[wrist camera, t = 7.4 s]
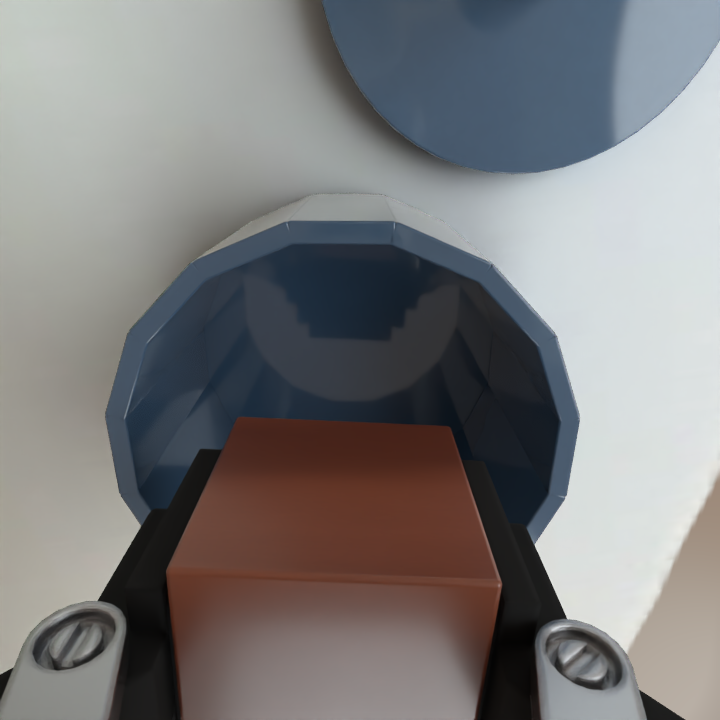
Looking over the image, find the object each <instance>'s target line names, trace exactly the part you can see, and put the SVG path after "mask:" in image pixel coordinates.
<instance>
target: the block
mask: <svg viewBox="0 0 720 720" xmlns="http://www.w3.org/2000/svg"><path fill="white" fill-rule="evenodd" d="M166 577H167V587H168V597H169V607H170V617H171V627H172V637H173V648H174V658H175V668H176V678H177V688H178V698H179V708H180V718H181V720H477V719H478V713H479V708H480V702H481V697H482V692H483V686H484V681H485V675H486V670H487V665H488V659H489V654H490V648H491V643H492V637H493V632H494V627H495V621H496V616H497V610H498V605H499V600H500V594H501V589H502V582H501V579H500V576H499V573H498V570H497V567H496V564H495V561H494V558H493V555H492V552H491V549H490V546H489V543H488V540H487V537H486V534H485V531H484V528H483V525H482V521H481V518H480V515H479V512H478V509H477V506H476V503H475V500H474V497H473V494H472V491H471V488H470V485H469V482H468V479H467V476H466V473H465V470H464V467H463V464H462V461H461V458H460V455H459V452H458V449H457V446H456V443H455V440H454V437H453V434H452V431H451V428H450V427H448V426H436V425H414V424H391V423H369V422H347V421H325V420H302V419H280V418H258V417H238V418H237V419H236V421H235V423H234V426H233V428H232V430H231V432H230V434H229V436H228V439H227V441H226V443H225V445H224V447H223V449H222V451H221V454H220V456H219V458H218V460H217V462H216V464H215V466H214V469H213V471H212V473H211V475H210V477H209V479H208V481H207V484H206V486H205V488H204V490H203V492H202V494H201V497H200V499H199V501H198V503H197V505H196V507H195V509H194V512H193V514H192V516H191V518H190V520H189V522H188V524H187V527H186V529H185V531H184V533H183V535H182V537H181V539H180V542H179V544H178V546H177V548H176V550H175V552H174V555H173V557H172V559H171V561H170V563H169V565H168V567H167V570H166Z"/></svg>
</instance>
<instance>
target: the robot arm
mask: <svg viewBox="0 0 720 720" xmlns="http://www.w3.org/2000/svg"><path fill="white" fill-rule="evenodd" d="M221 451H222V449H200V450H199V451H198V453H197V455H196V457H195V459H194V460H193V462H192V464H191V466H190V468H189V470H188V471H187V473H186V475H185V477H184V479H183V481H182V483H181V484H180V486H179V488H178V490H177V492H176V494H175V495H174V497H173V499H172V501H171V503H170V505H169V506H168V508H167V509H161V508H155V509H153V510H151V512H150V513H149V514H148V516H147V518H146V519H145V521H144V523H143V524H142V526H141V528H140V530H139V531H138V533H137V535H136V536H135V538H134V540H133V541H132V543H131V545H130V547H129V548H128V550H127V552H126V553H125V555H124V557H123V559H122V560H121V562H120V564H119V565H118V567H117V569H116V570H115V572H114V574H113V576H112V577H111V579H110V581H109V582H108V584H107V586H106V587H105V589H104V591H103V593H102V594H101V596H100V598H99V599H98V601H86V602H81V603H77V604H73V605H70V606H67V607H65V608H63V609H61V610H58V611H56V612H54V613H53V614H51V615H50V616H48V617H47V618H45V619H44V620H42V621H41V622H40V623H39V624H38V625H37V626H36V627H35V628H34V629H33V630H32V631H31V632H30V634H29V636H28V637H27V639H26V641H25V642H24V644H23V646H22V648H21V651H20V653H19V656H18V658H17V661H16V663H15V666H14V668H12V669H10V670H8V671H6V672H4V673H3V674H1V675H0V720H181V718H180V708H179V698H178V688H177V678H176V668H175V658H174V648H173V637H172V627H171V617H170V607H169V597H168V587H167V577H166V570H167V567H168V565H169V563H170V561H171V559H172V557H173V555H174V552H175V550H176V548H177V546H178V544H179V542H180V539H181V537H182V535H183V533H184V531H185V529H186V527H187V524H188V522H189V520H190V518H191V516H192V514H193V512H194V509H195V507H196V505H197V503H198V501H199V499H200V497H201V494H202V492H203V490H204V488H205V486H206V484H207V481H208V479H209V477H210V475H211V473H212V471H213V469H214V466H215V464H216V462H217V460H218V458H219V456H220V454H221ZM461 461H462V464H463V467H464V470H465V473H466V476H467V479H468V482H469V485H470V488H471V491H472V494H473V497H474V500H475V503H476V506H477V509H478V512H479V515H480V518H481V521H482V525H483V528H484V531H485V534H486V537H487V540H488V543H489V546H490V549H491V552H492V555H493V558H494V561H495V564H496V567H497V570H498V573H499V576H500V579H501V582H502V589H501V594H500V600H499V605H498V610H497V616H496V621H495V627H494V632H493V637H492V643H491V648H490V654H489V659H488V665H487V670H486V675H485V681H484V686H483V692H482V697H481V702H480V708H479V713H478V719H477V720H685V719H683V718H682V717H680V716H679V715H677V714H675V713H674V712H672V711H671V710H669V709H668V708H666V707H665V706H663V705H662V704H660V703H659V702H657V701H656V700H654V699H652V698H651V697H650V696H648V695H647V694H645V693H643V692H641V691H640V690H639V689H638V684H637V681H636V677H635V673H634V670H633V667H632V664H631V662H630V660H629V658H628V656H627V654H626V653H625V652H624V650H623V649H622V648H621V647H620V645H619V644H618V643H617V642H616V641H615V640H613V639H612V638H611V637H610V636H609V635H607V634H606V633H605V632H603V631H601V630H599V629H598V628H596V627H594V626H592V625H590V624H587V623H583V622H580V621H577V620H568V619H567V618H566V615H565V613H564V611H563V609H562V606H561V604H560V602H559V599H558V597H557V595H556V593H555V590H554V588H553V586H552V584H551V581H550V579H549V577H548V575H547V572H546V570H545V568H544V566H543V563H542V561H541V559H540V557H539V554H538V552H537V550H536V548H535V545H534V543H533V541H532V539H531V536H530V534H529V532H528V530H527V528H526V527H525V525H523V524H519V523H509V522H508V519H507V517H506V514H505V512H504V509H503V507H502V504H501V502H500V499H499V497H498V494H497V492H496V489H495V487H494V484H493V482H492V480H491V477H490V475H489V472H488V470H487V467H486V465H485V463H484V461H474V460H461Z"/></svg>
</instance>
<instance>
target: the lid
mask: <svg viewBox="0 0 720 720" xmlns="http://www.w3.org/2000/svg"><path fill="white" fill-rule="evenodd" d="M322 5H323V9H324V12H325V15H326V18H327V22H328V25H329V28H330V32H331V35H332V38H333V40H334V43H335V45H336V47H337V49H338V52H339V54H340V56H341V58H342V61H343V63H344V65H345V67H346V69H347V70H348V72H349V74H350V75H351V77H352V79H353V80H354V82H355V84H356V86H357V87H358V89H359V90H360V92H361V93H362V94H363V96H364V97H365V98H366V99H367V101H368V102H369V103H370V105H371V106H372V107H373V108H374V110H375V111H376V112H377V113H378V114H379V115H380V116H381V117H382V118H383V119H384V120H385V121H386V122H387V123H388V124H389V125H390V126H391V127H392V128H393V129H394V130H395V131H397V132H398V133H399V134H401V135H402V136H403V137H405V138H406V139H407V140H409V141H410V142H411V143H413V144H414V145H415V146H417V147H419V148H421V149H422V150H424V151H426V152H428V153H430V154H432V155H433V156H435V157H437V158H439V159H442V160H445V161H447V162H450V163H453V164H455V165H458V166H461V167H465V168H470V169H474V170H479V171H483V172H490V173H503V174H523V173H538V172H543V171H548V170H553V169H558V168H563V167H566V166H569V165H572V164H575V163H578V162H581V161H584V160H587V159H590V158H592V157H594V156H596V155H598V154H600V153H602V152H604V151H606V150H608V149H610V148H612V147H614V146H616V145H617V144H619V143H621V142H622V141H624V140H625V139H627V138H628V137H630V136H632V135H633V134H635V133H636V132H638V131H639V130H640V129H642V128H643V127H644V126H645V125H647V124H648V123H649V122H650V121H652V120H653V119H654V118H655V117H656V116H658V115H659V114H660V113H661V112H662V111H663V110H664V109H665V108H666V107H667V106H668V105H669V104H670V103H671V102H672V101H673V100H674V99H675V98H676V97H677V96H678V95H679V94H680V93H681V92H682V91H683V90H684V89H685V88H686V86H687V85H688V84H689V83H690V81H691V80H692V79H693V78H694V76H695V75H696V74H697V73H698V71H699V70H700V69H701V68H702V67H703V65H704V64H705V62H706V61H707V59H708V58H709V56H710V54H711V53H712V51H713V50H714V48H715V47H716V45H717V44H718V42H719V41H720V0H322Z"/></svg>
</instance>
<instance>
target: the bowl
mask: <svg viewBox="0 0 720 720" xmlns="http://www.w3.org/2000/svg"><path fill="white" fill-rule="evenodd" d="M105 415H106V416H105V418H106V424H107V429H108V434H109V440H110V445H111V450H112V456H113V461H114V466H115V472H116V477H117V482H118V488H119V493H120V494H121V497H122V498H123V500H124V501H125V503H126V504H127V506H128V507H129V509H130V510H131V512H132V513H133V514H134V516H135V517H136V519H137V520H138V522H139V523H140V525H141V526H142V524H143V523H144V521H145V519H146V518H147V516H148V514H149V513H150V512H151V510H153V509H155V508H161V509H167V508H168V506H169V505H170V503H171V501H172V499H173V497H174V495H175V494H176V492H177V490H178V488H179V486H180V484H181V483H182V481H183V479H184V477H185V475H186V473H187V471H188V470H189V468H190V466H191V464H192V462H193V460H194V459H195V457H196V455H197V453H198V451H199V450H200V449H223V447H224V445H225V443H226V441H227V439H228V436H229V434H230V432H231V430H232V428H233V426H234V423H235V421H236V419H237V418H238V417H258V418H280V419H302V420H325V421H347V422H369V423H391V424H414V425H436V426H448V427H450V428H451V431H452V434H453V437H454V440H455V443H456V446H457V449H458V452H459V455H460V458H461V460H474V461H484V463H485V465H486V467H487V470H488V472H489V475H490V477H491V480H492V482H493V484H494V487H495V489H496V492H497V494H498V497H499V499H500V502H501V504H502V507H503V509H504V512H505V514H506V517H507V519H508V522H509V523H519V524H523V525H525V527H526V528H527V530H528V532H529V534H530V536H531V539H532V541H533V543H534V544H535V543H536V541H537V540H538V538H539V537H540V535H541V534H542V532H543V531H544V529H545V528H546V527H547V525H548V524H549V522H550V521H551V519H552V518H553V516H554V515H555V513H556V512H557V510H558V509H559V507H560V506H561V504H562V503H563V501H564V500H565V496H566V495H567V490H568V484H569V479H570V473H571V467H572V462H573V456H574V450H575V445H576V439H577V433H578V427H579V422H580V418H579V417H580V415H579V411H578V408H577V404H576V401H575V397H574V394H573V390H572V387H571V383H570V380H569V376H568V373H567V369H566V366H565V362H564V359H563V356H562V352H561V349H560V345H559V342H558V338H557V336H556V335H555V332H554V331H553V330H552V329H551V328H550V327H549V326H548V324H547V323H546V322H545V321H544V320H543V319H542V318H541V317H540V316H539V314H538V313H537V312H536V311H535V310H534V309H533V308H532V307H531V306H530V304H529V303H528V302H527V301H526V300H525V299H524V298H523V297H522V296H521V294H520V293H519V292H518V291H517V290H516V289H515V288H514V287H513V286H512V284H511V283H510V282H509V281H508V280H507V279H506V278H505V277H504V276H503V274H502V273H501V272H500V271H499V270H498V269H497V268H496V267H495V266H494V265H493V264H492V263H491V262H490V261H489V260H488V259H487V258H485V257H484V256H483V255H482V254H481V253H480V252H479V251H477V250H476V249H475V248H474V247H473V246H472V245H471V244H470V243H468V242H467V241H466V240H465V239H464V238H463V237H462V236H460V235H459V234H458V233H457V232H456V231H455V230H454V229H452V228H451V227H450V226H449V225H448V224H447V223H445V222H444V221H442V220H440V219H438V218H435V217H433V216H431V215H429V214H426V213H424V212H422V211H420V210H418V209H417V208H415V207H413V206H410V205H407V204H404V203H402V202H399V201H397V200H395V199H393V198H390V197H388V196H386V195H382V194H357V193H339V194H314V195H310V196H308V197H305V198H303V199H301V200H298V201H296V202H294V203H291V204H288V205H285V206H283V207H281V208H279V209H277V210H275V211H273V212H270V213H268V214H266V215H264V216H261V217H259V218H257V219H254V220H252V221H251V222H249V223H248V224H247V225H245V226H244V227H242V228H241V229H239V230H238V231H236V232H235V233H233V234H232V235H230V236H229V237H227V238H226V239H224V240H223V241H221V242H220V243H218V244H217V245H215V246H214V247H212V248H211V249H210V250H208V251H207V252H205V253H204V254H202V255H201V256H199V257H198V258H196V259H195V260H193V261H192V262H190V263H189V264H188V265H187V267H186V268H185V269H184V270H183V271H182V272H181V273H180V274H179V275H178V277H177V278H176V279H175V280H174V281H173V282H172V283H171V284H170V285H169V287H168V288H167V289H166V290H165V291H164V292H163V293H162V294H161V295H160V297H159V298H158V299H157V300H156V301H155V302H154V303H153V304H152V305H151V307H150V308H149V309H148V310H147V311H146V312H145V313H144V314H143V315H142V317H141V318H140V319H139V320H138V321H137V322H136V323H135V324H134V325H133V327H132V328H131V329H130V330H129V332H128V333H127V337H126V340H125V344H124V347H123V351H122V355H121V358H120V362H119V365H118V369H117V373H116V376H115V380H114V383H113V387H112V391H111V394H110V398H109V401H108V405H107V409H106V412H105Z"/></svg>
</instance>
